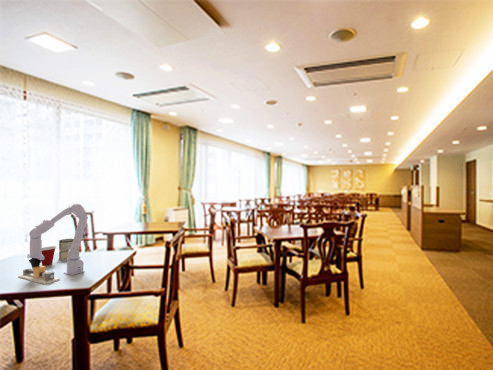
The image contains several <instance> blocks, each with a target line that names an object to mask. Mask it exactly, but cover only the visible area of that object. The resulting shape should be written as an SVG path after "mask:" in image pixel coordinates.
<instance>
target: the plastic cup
mask: <svg viewBox="0 0 493 370" xmlns="http://www.w3.org/2000/svg"><path fill="white" fill-rule="evenodd" d="M56 248H57V246H56V245H53V246H45V247H42V255H43V256H44V260H42V261H41V266H45V267H47V266H50V265H53V260H54V256H55V251H56Z"/></svg>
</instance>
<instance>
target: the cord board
mask: <svg viewBox="0 0 493 370" xmlns="http://www.w3.org/2000/svg"><path fill="white" fill-rule="evenodd" d="M17 276H18V277H17V278H19V279H23V280H27V281H30V282H34V283H37V284H41V285H47V284H52V283H55V282H58V281H60V280H61V279H60V277H55V272H54V271H45V273H44V272H40V276H42V277H40V278H37V277H33V269H31V268H26V269H23V270H22V274H19V275H17Z"/></svg>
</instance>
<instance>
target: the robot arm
mask: <svg viewBox="0 0 493 370" xmlns="http://www.w3.org/2000/svg"><path fill="white" fill-rule="evenodd" d="M72 214H74V215H75V216H76V217H77V218H78V223H77V226H76V229H75V232H74V236H73V238H72V239H73V243H72V245H71V248H70V249H69V250H68V258H67V260H66V271H63V274H66V275H69V276H75V275H78V274H82V273H85V270H84V261H83V260H82V259H81V256H80V247H81V242H82V239H83V236H84V232H85V229H86V225H87V221H88V215H87V212H86V210H85V208H84V207H83V206H82V205H81V204H80V203H73V204H72V205H71V206H68V207H66V208H65V209H63V210H61V212H58V214H56V215H55V216H54V217H52V218H51V219H50V218H49V219H46V220H45V219H44V220H42V222H41V223H40V224H38V225H35V226H34V227H33V228H32V229H31V230H30V231H29V234H28V235H29V253H28V254H26V255H27V256H26V258H28V262H29V263H30V266H31V268H32V269H31V270H33V267H37V266H41V264H42V262H41V261H42V260H44V256H43V255H42V248H43V246H42V245H43V244H42V241H43V240H42V235H43V234H46V232H47V231H48V232H49V230H51V229H53V228H54V226H55V224H56V223H57V222H59V221H60V220H61V219H63V218H65V217H66V216H68V215H69V216H70V215H72Z"/></svg>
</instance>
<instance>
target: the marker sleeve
mask: <svg viewBox="0 0 493 370" xmlns="http://www.w3.org/2000/svg"><path fill="white" fill-rule="evenodd" d="M46 268H47V266H43V265H39V266H37V267H33V269H32V270H33V277H37V278H40V277H42V276H40V272H44V273H45V272H46Z"/></svg>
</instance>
